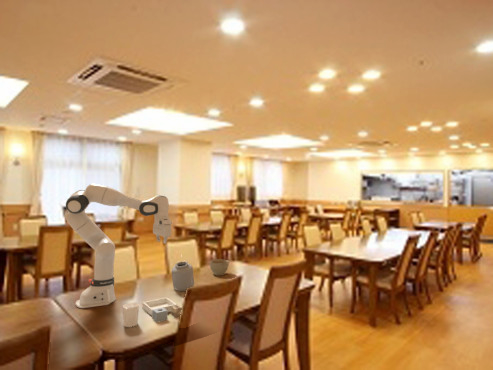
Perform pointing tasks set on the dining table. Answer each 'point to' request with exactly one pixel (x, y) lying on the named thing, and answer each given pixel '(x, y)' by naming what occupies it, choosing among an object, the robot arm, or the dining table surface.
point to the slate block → (159, 314)
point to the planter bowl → (219, 266)
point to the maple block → (176, 310)
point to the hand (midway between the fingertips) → (161, 242)
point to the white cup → (130, 314)
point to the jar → (182, 276)
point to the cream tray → (158, 305)
